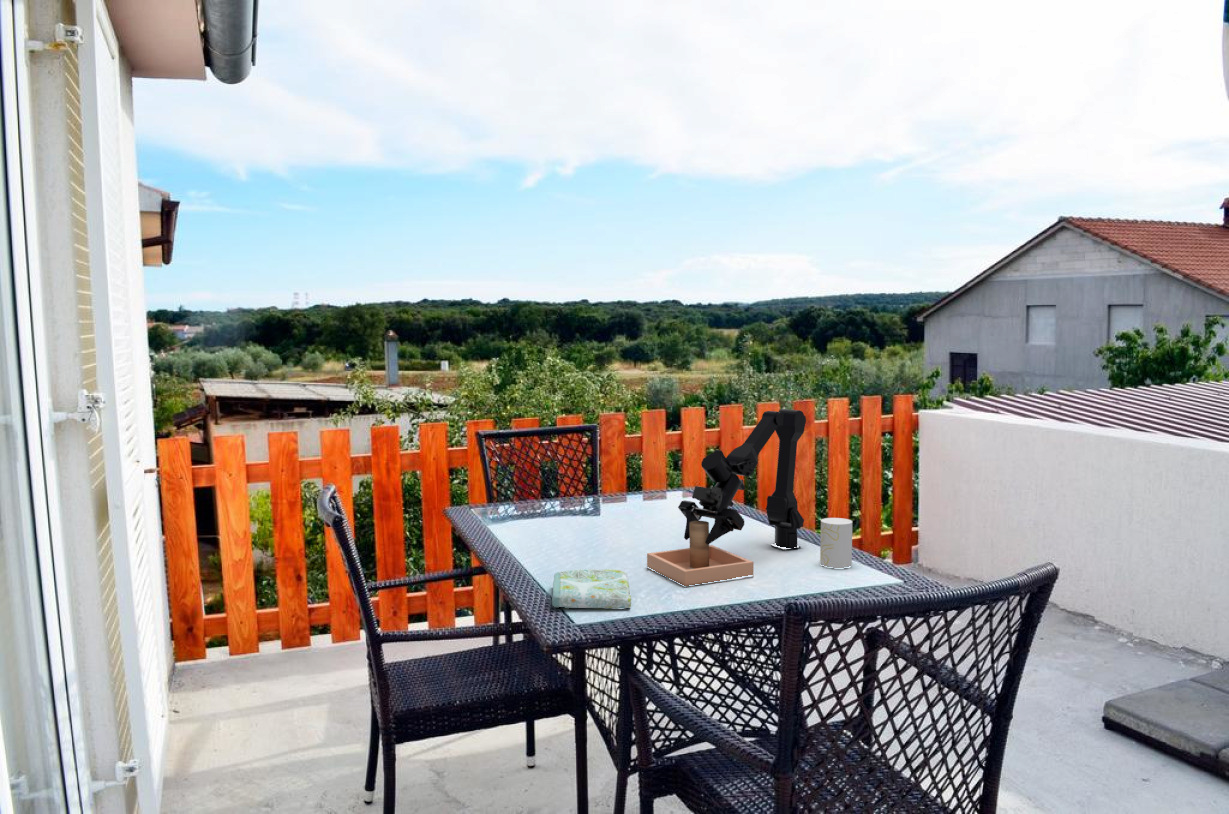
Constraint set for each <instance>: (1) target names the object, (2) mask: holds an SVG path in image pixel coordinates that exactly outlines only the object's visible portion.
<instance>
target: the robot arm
mask: <svg viewBox="0 0 1229 814" xmlns="http://www.w3.org/2000/svg"><path fill="white" fill-rule="evenodd" d="M806 422H807V416H806V415H805V413H804V412H803V411H802V410H798V409H786V408H785V409H784V408H781V409H780V410H778V411H774V410H767V411H764V412H763V413H762V415H761V419H760V420H759V422H758V423H757V424H756V426H755V427H754V428H753V430H752V431H751V432H750V434H749V435H748V436H747V438H746V440H745V441H744V442H743V443H742V444H741V445H740V446H738V447H737V446H736V447H735V448H733V449H732V450H731V452H730V453H728V455H727V456H725V454H724V453H723V451H722V450H718V449H714V451H713V452H711V453H709V454H708V455H706V456H705V457H704V458H703V459H702V460H701V468H702V469H703V470H704V472H705V473H706V474H707V476H708V477H709V478H710V480H711V481H712V482H713V483H716V484H715V486H712V487H711V488H708V487H705V486H704V487H703V486H698V485H695V486H694V489H693V492H692V495H691V498H692V499H694V500H697V501H699V502H698V503H699V505H700V506H702V508H701V507H699V506H698V505H697V504H696V502H695V501H691V500H681V501H680V503H679V505H678V507H677V509H679V511H680V513H682V515H683V516H684V517H685V518H686V524H685V530H684V536H683V538H684V539H685V540H686V541H687V540H690V533H689V523H690V522H692V521H701V520H702V517H705V518H709V519H714V524H712V527H711V529H710V530H709V535H708V537H707V539H706V541H705V543H706V544H707V545H708V544H709V545H710V544H712V543H713V542H714V541H716V540H718V539H719V538H721V537H722V536H724V535H726V534H728V533H730V532H734V530H736V531H742V529H743V528H744V526H745V519H744V518H743V516H742V515H741V514H740V512H739V511H738V510H737V509H734V508H732V507H733V506H734V502H733V499H734V498H735V496H736V494H737V493H738V491H745V490H746V487H745V484H744V479H741V478H740V477H739V476H742V477H750V476H751V475H752V474H754V471H755V469H756V467H757V465H758V463H759V462H758V461H759V459H758V456H759V454H760V453H761V451H762V450H763V449H764V447H765V445H767V443H768V441H769V440H770V439H771V437H772V435H773V434H774V433H776V435H777V438H778V440H779V445H778V455H777V466H776V475H775V476H776V477H775V488H774V491H773V492H772V494H771V495H768V496H767V497H766V507H765V510H766V517H767V519H768V520H767V521H768V524H769V526H774V543H776V545H777V546H780V547H786V548H794V547H797V545H798V530H799V529H801V528H803V527H804V524H805V523H804V522H805V519H804V517H803V516H802V515H801V513H800V512H799V510H798V508H799V506H798V500H797V498H796V495H795V493H794V482H795V481H794V480H795V471H796V462H797V461H796V459H797V447H798V441H799V440H800V439H801V437H802V436H803V434H804V433H805V429H806V428H805V427H806ZM729 507H730V508H729Z"/></svg>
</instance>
